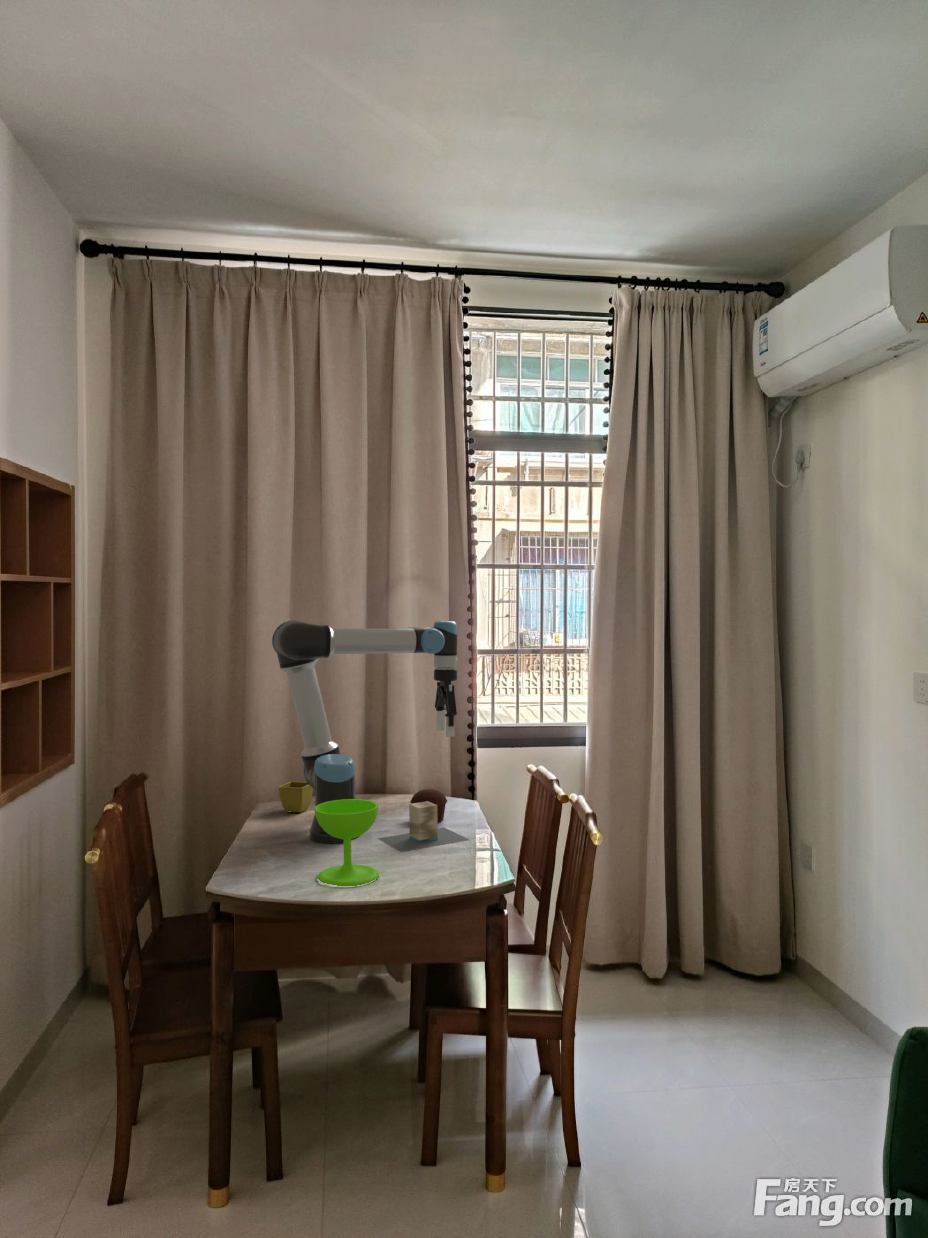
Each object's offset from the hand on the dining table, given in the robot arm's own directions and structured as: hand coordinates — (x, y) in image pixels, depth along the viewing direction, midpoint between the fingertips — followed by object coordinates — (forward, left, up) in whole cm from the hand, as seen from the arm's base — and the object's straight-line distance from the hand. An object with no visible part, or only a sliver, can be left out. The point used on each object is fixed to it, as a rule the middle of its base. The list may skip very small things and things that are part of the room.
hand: (445, 733), depth 281 cm
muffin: (-10, -7, -26) cm, 29 cm away
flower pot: (-41, +29, -26) cm, 57 cm away
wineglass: (-52, -44, -26) cm, 73 cm away
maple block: (-21, -25, -25) cm, 42 cm away
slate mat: (-21, -25, -26) cm, 42 cm away
